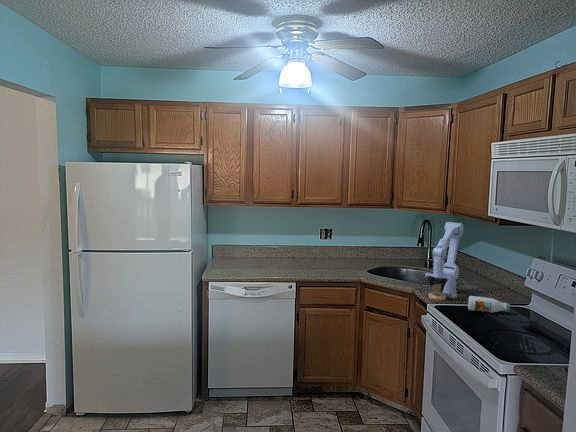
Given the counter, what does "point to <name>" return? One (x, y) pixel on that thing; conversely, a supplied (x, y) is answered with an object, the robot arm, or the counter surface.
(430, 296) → the tan round disc
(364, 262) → the counter surface
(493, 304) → the milk bottle
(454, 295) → the grey tin
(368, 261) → the counter surface
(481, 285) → the counter surface
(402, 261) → the counter surface
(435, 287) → the walnut cube
